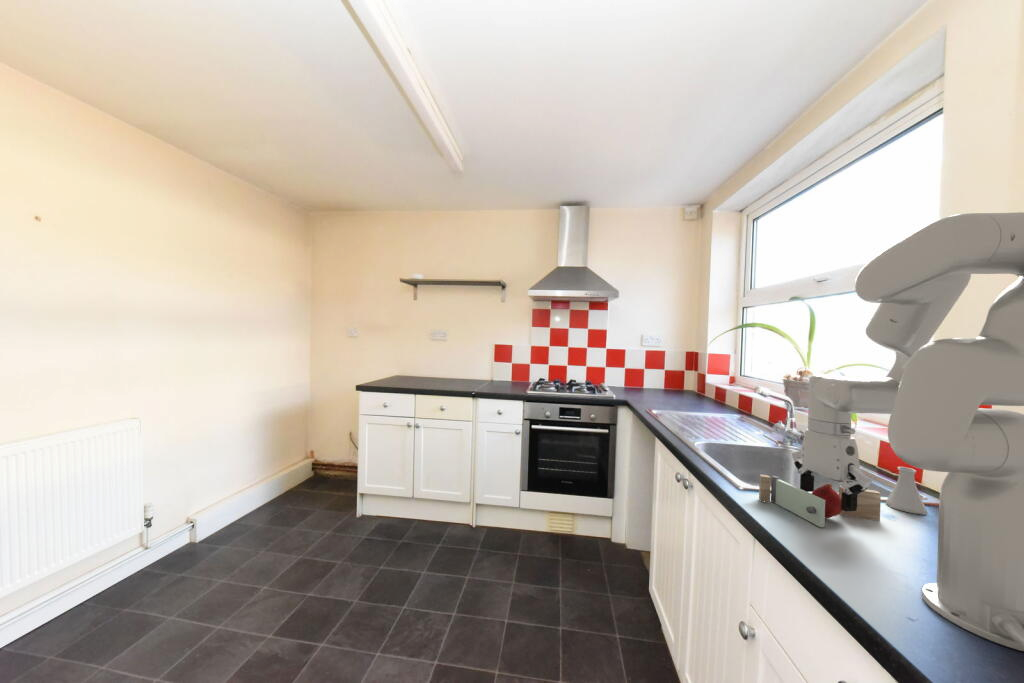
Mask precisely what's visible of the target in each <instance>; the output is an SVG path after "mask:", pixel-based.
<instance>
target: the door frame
mask: <svg viewBox="0 0 1024 683" xmlns="http://www.w3.org/2000/svg"><path fill="white" fill-rule="evenodd" d="M771 478H772V477H770V475H767V474H759V481H758V482H759V486H758V488H759V489H758V490H759V492H758V500H759V499H760V500H761V501H765V502H764V503H766V502H769V503H768V504H770V503H771ZM842 492H845V491H844V489H843V488H842V486H841V485H838V494H839V495H840V497H842ZM881 494H882V493H881V492H880V491H878V490H874V489H867V490H865V491H863V492H861V494H858V496H857V510H856V511H842V512H841V513H840V514H839V515H840V516H845V515H847V516H846V517H851V518H858V519H862V520H863V519H864V520H871V521H876V522H881V503H882V502H881V501H882V500H881V498H882V496H881ZM760 500H759V501H760ZM761 501H760V502H761Z"/></svg>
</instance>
